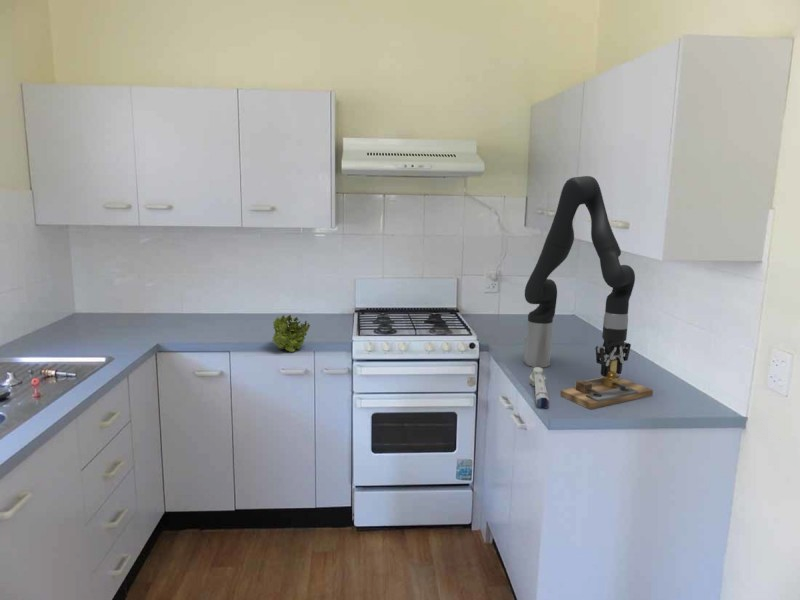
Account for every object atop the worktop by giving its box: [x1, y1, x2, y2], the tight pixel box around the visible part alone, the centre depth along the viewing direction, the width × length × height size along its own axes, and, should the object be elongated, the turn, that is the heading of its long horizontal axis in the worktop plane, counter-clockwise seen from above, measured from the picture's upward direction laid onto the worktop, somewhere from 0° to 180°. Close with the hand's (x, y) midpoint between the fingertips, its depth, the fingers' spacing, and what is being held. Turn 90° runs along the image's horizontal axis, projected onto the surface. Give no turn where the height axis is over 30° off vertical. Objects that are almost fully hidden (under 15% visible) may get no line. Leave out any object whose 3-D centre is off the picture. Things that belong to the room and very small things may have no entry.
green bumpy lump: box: [272, 314, 311, 353], centre depth 235 cm, size 18×16×16 cm
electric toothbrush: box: [529, 367, 550, 409], centre depth 187 cm, size 5×7×25 cm
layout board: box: [560, 373, 654, 410], centre depth 186 cm, size 13×28×4 cm, turn 117°
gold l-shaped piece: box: [602, 357, 626, 389], centre depth 188 cm, size 8×3×9 cm, turn 27°
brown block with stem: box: [575, 379, 599, 394], centre depth 183 cm, size 8×3×3 cm, turn 27°
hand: (610, 374), depth 190 cm, fingers open, 5 cm apart
